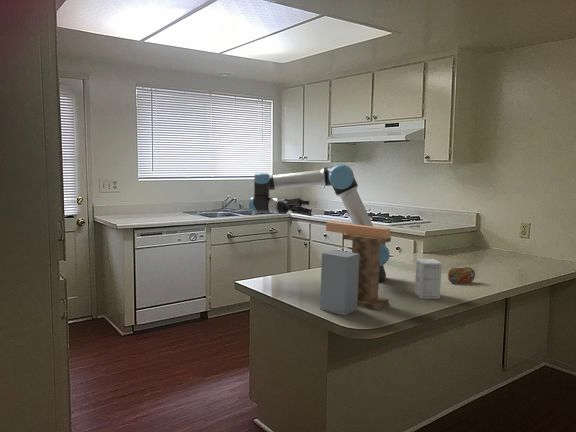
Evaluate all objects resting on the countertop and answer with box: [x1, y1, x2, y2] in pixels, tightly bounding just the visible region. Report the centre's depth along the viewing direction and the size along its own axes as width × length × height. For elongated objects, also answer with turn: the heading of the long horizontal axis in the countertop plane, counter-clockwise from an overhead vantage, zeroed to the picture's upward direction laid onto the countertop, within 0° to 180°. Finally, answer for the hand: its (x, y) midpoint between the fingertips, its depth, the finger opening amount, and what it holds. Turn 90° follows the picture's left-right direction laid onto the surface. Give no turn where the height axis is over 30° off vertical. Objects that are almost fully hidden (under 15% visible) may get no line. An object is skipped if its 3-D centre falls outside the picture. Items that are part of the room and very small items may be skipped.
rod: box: [325, 221, 391, 239], centre depth 213 cm, size 30×4×4 cm, turn 52°
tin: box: [447, 266, 476, 285], centre depth 252 cm, size 15×3×8 cm, turn 105°
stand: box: [342, 233, 392, 311], centre depth 212 cm, size 18×12×30 cm, turn 52°
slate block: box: [319, 249, 359, 316], centre depth 202 cm, size 12×10×24 cm
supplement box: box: [414, 258, 443, 300], centre depth 225 cm, size 10×9×17 cm
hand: (320, 208), depth 230 cm, fingers open, 13 cm apart
